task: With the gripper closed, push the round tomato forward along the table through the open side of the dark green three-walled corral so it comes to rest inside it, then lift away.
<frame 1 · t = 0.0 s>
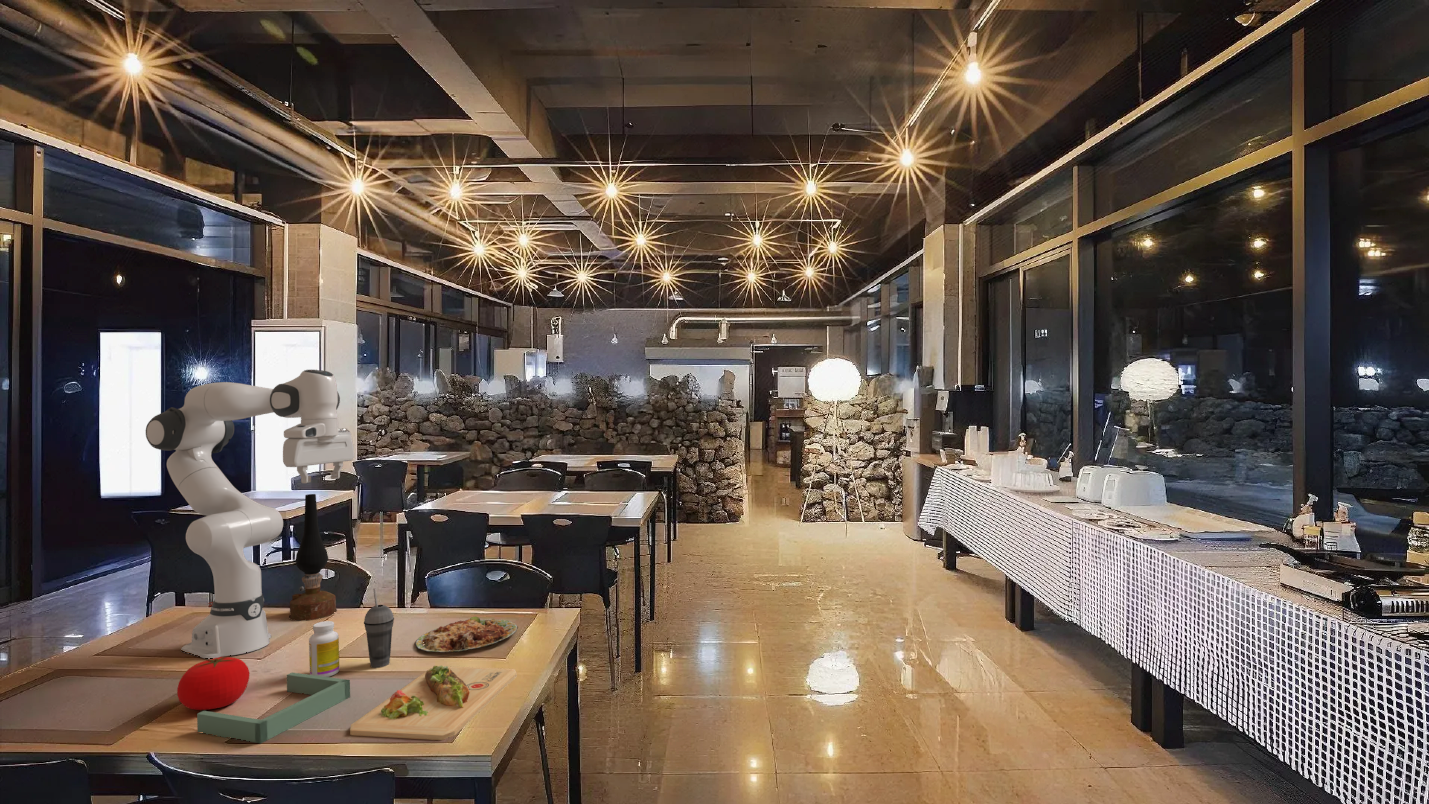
hand: (321, 480, 191), 48 cm above the table, tool pointing down, fingers open, 8 cm apart
supplement bottle: (324, 674, 180), on the table
oil lamp: (313, 614, 231), on the table
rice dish: (467, 640, 205), on the table
tomato: (215, 705, 163), on the table
beverage cup: (380, 665, 186), on the table
cutting board: (440, 704, 163), on the table
corral: (275, 713, 158), on the table
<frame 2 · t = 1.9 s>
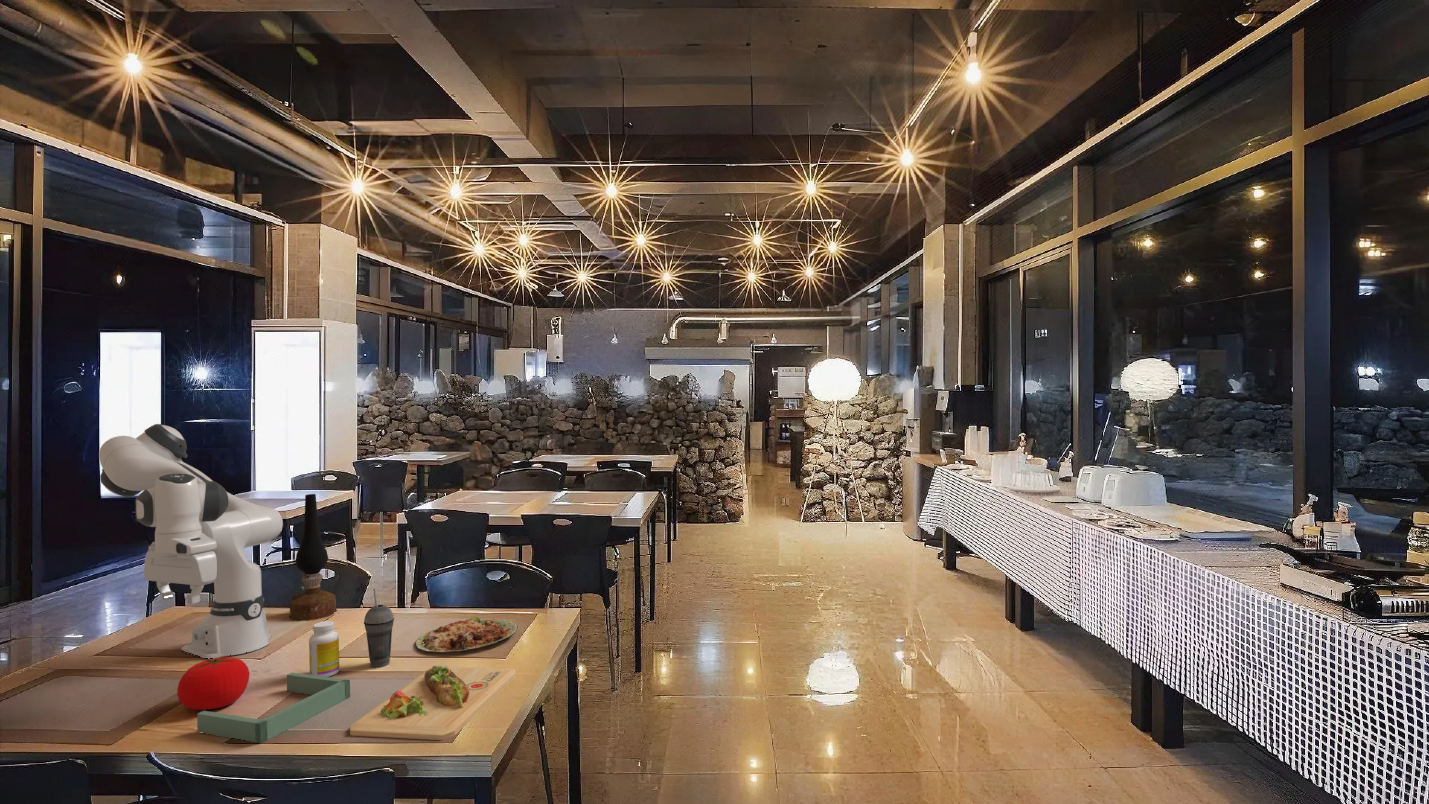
hand: (180, 601, 168), 23 cm above the table, tool pointing down, fingers open, 8 cm apart
nothing on the table moved.
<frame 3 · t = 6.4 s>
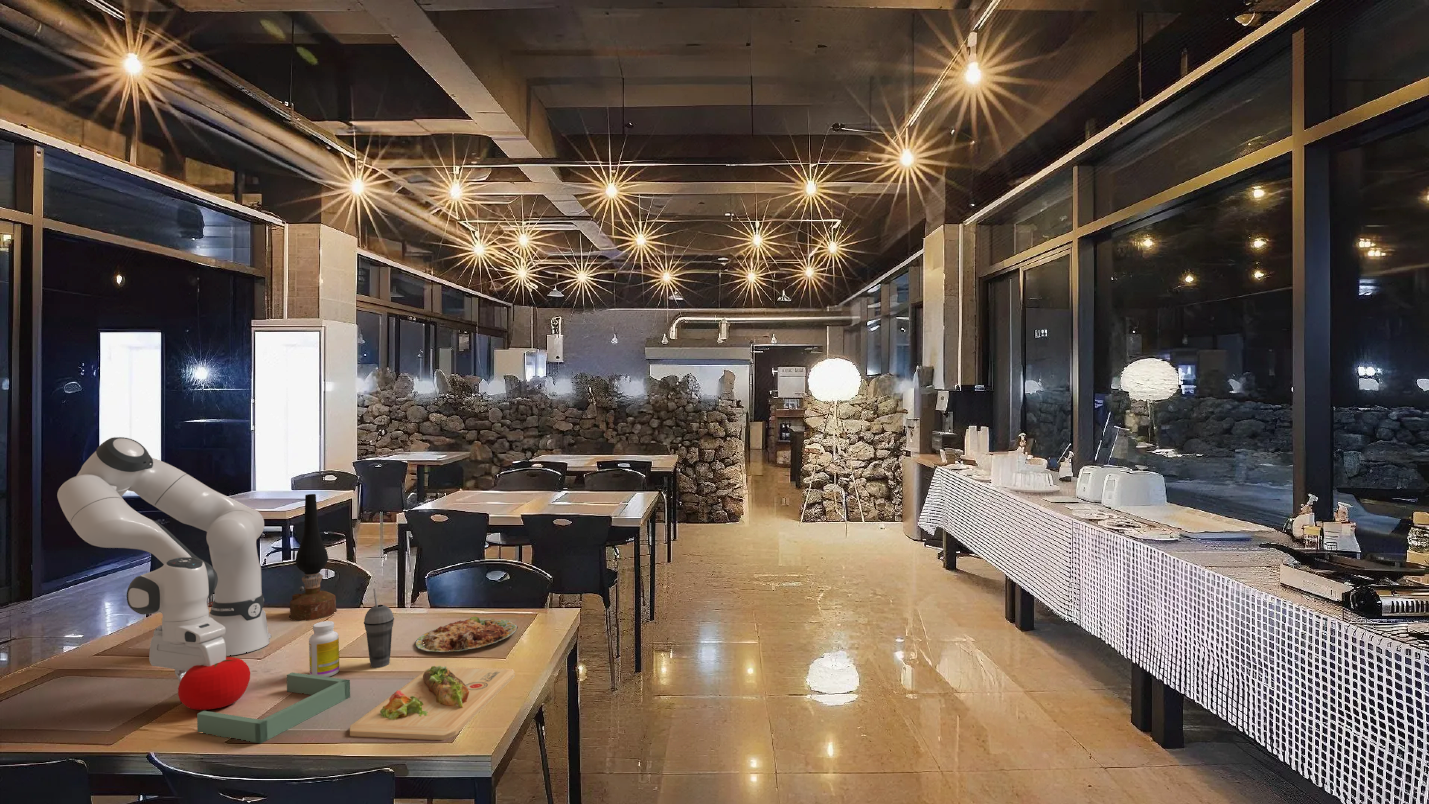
hand: (187, 687, 165), 3 cm above the table, tool pointing down, fingers closed
tomato: (216, 705, 163), on the table, touching gripper
everything else where it was.
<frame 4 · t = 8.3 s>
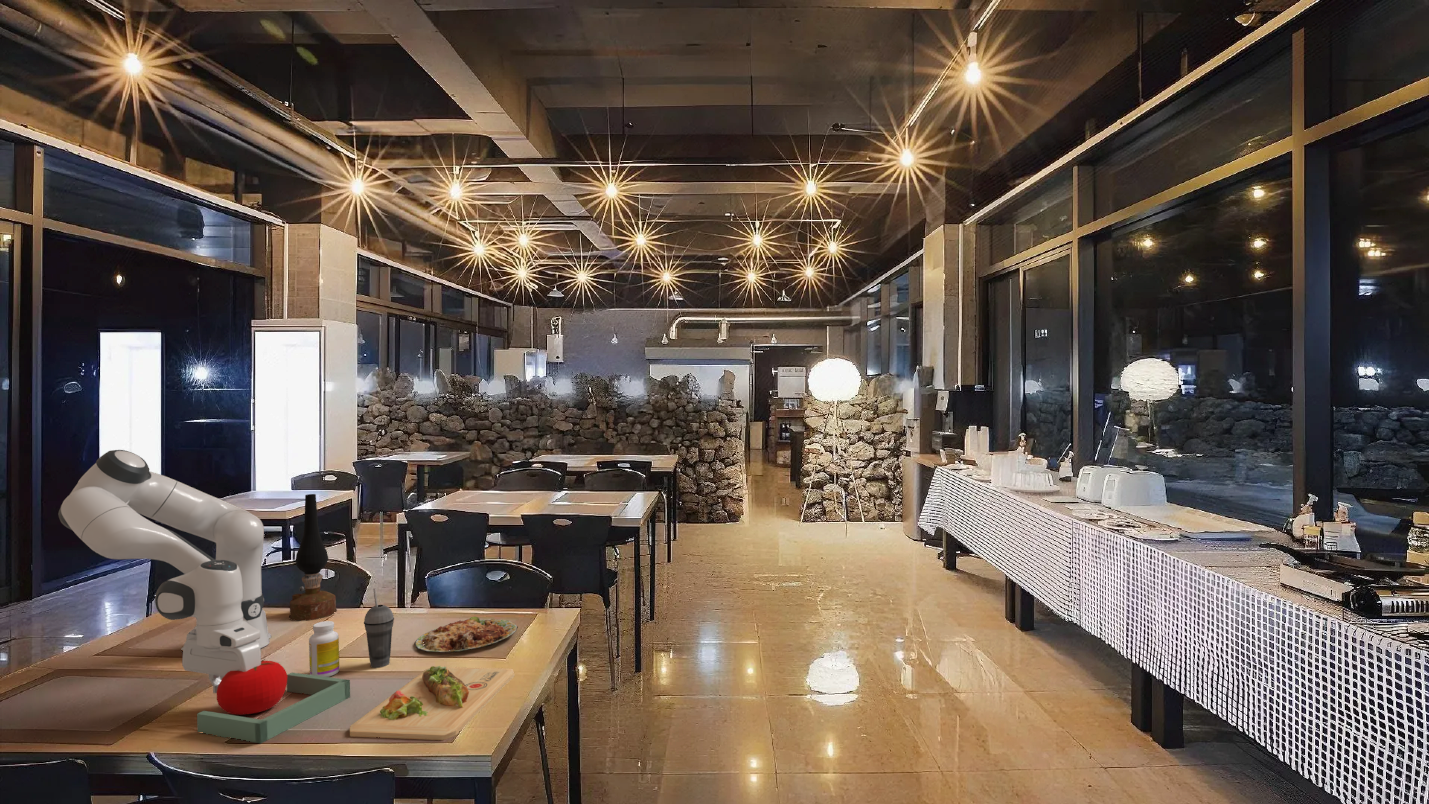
hand: (221, 692, 162), 3 cm above the table, tool pointing down, fingers closed
tomato: (254, 709, 160), on the table, touching gripper
everything else where it was.
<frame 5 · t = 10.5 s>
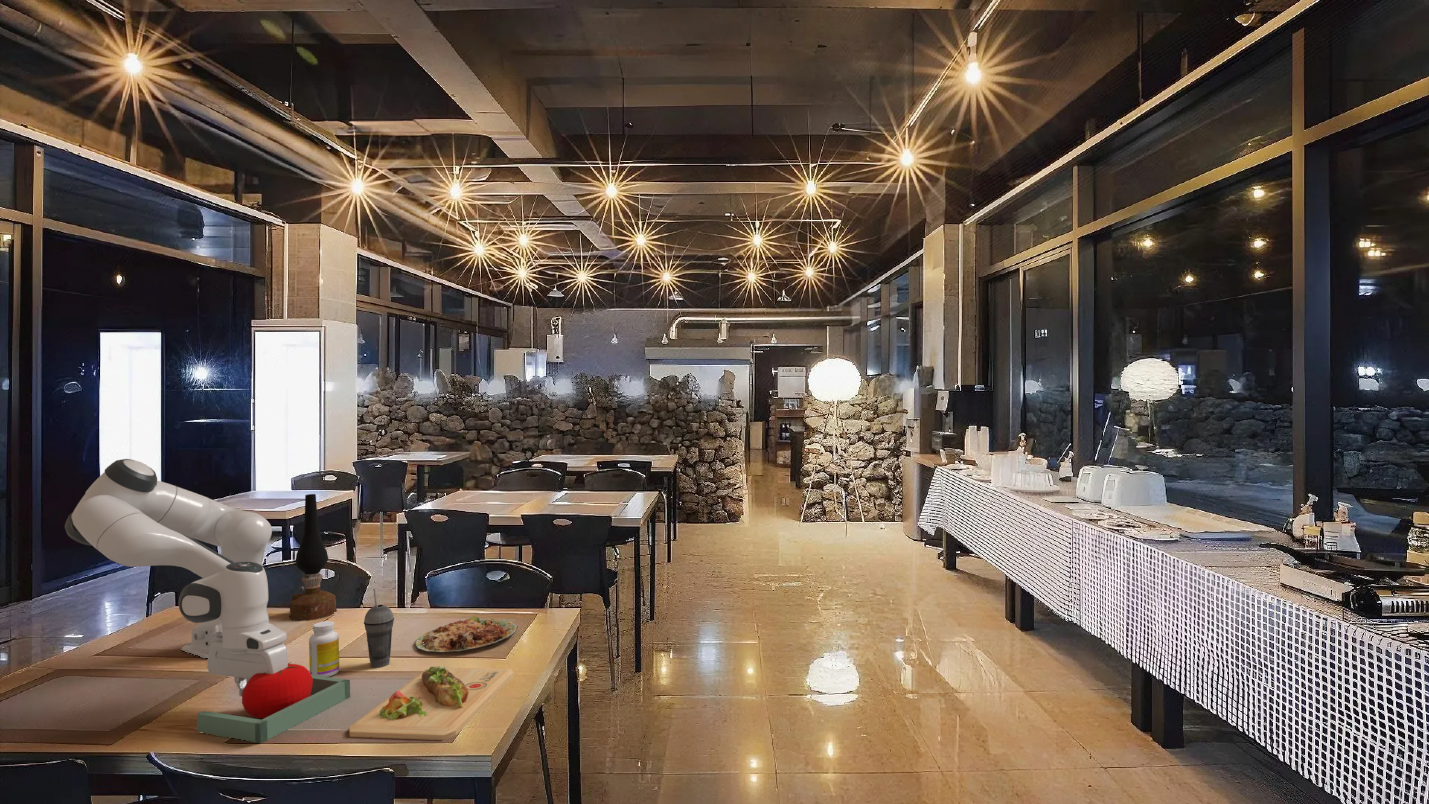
hand: (247, 695, 160), 3 cm above the table, tool pointing down, fingers closed
tomato: (279, 713, 158), on the table, touching gripper
everything else where it was.
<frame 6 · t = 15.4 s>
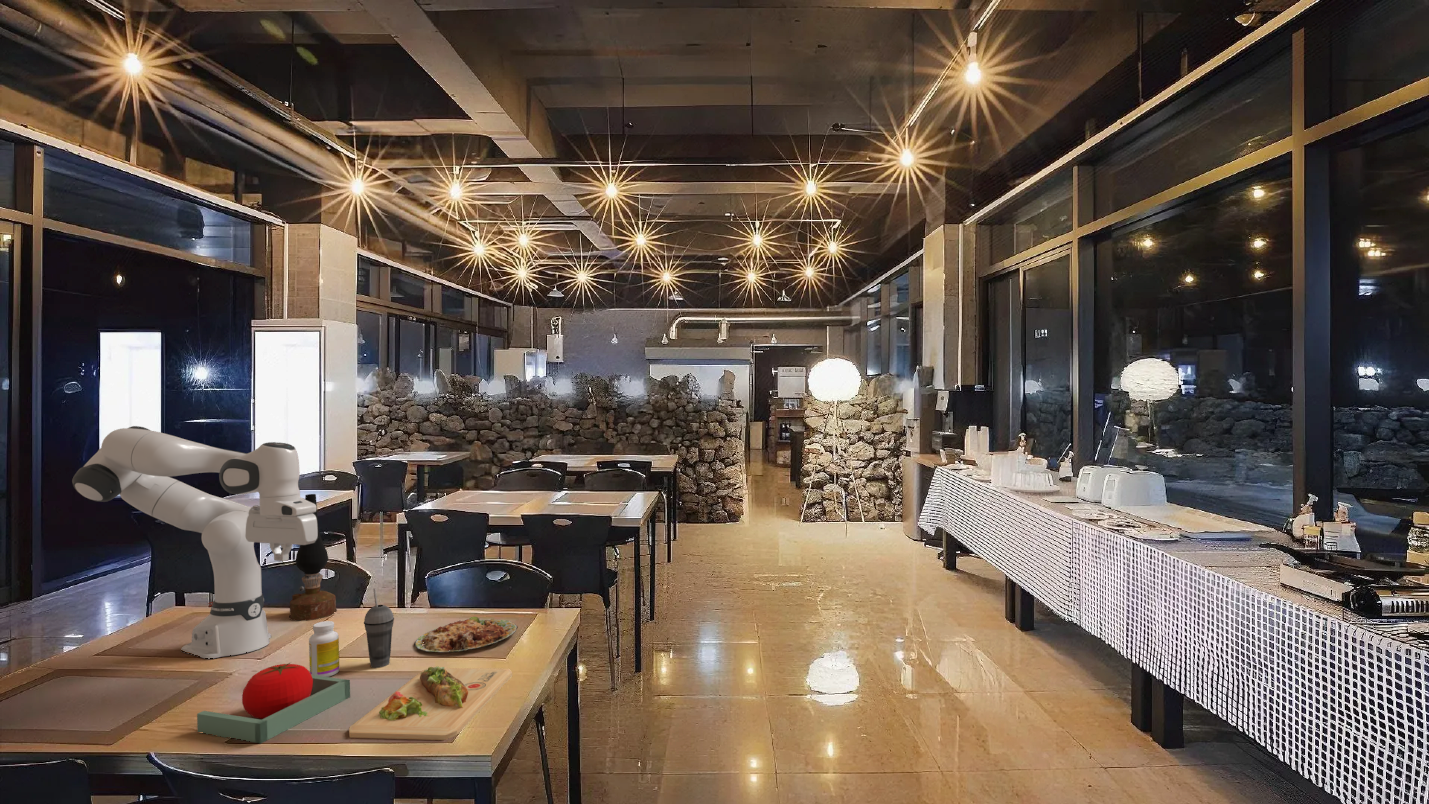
hand: (281, 560, 180), 29 cm above the table, tool pointing down, fingers closed
tomato: (279, 713, 158), on the table
everything else where it was.
at the end: tomato inside the target area on the corral (1.2 cm from its centre), point 0.0 cm above the corral's base; tomato moved 18.6 cm from its start; the gripper is holding nothing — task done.
